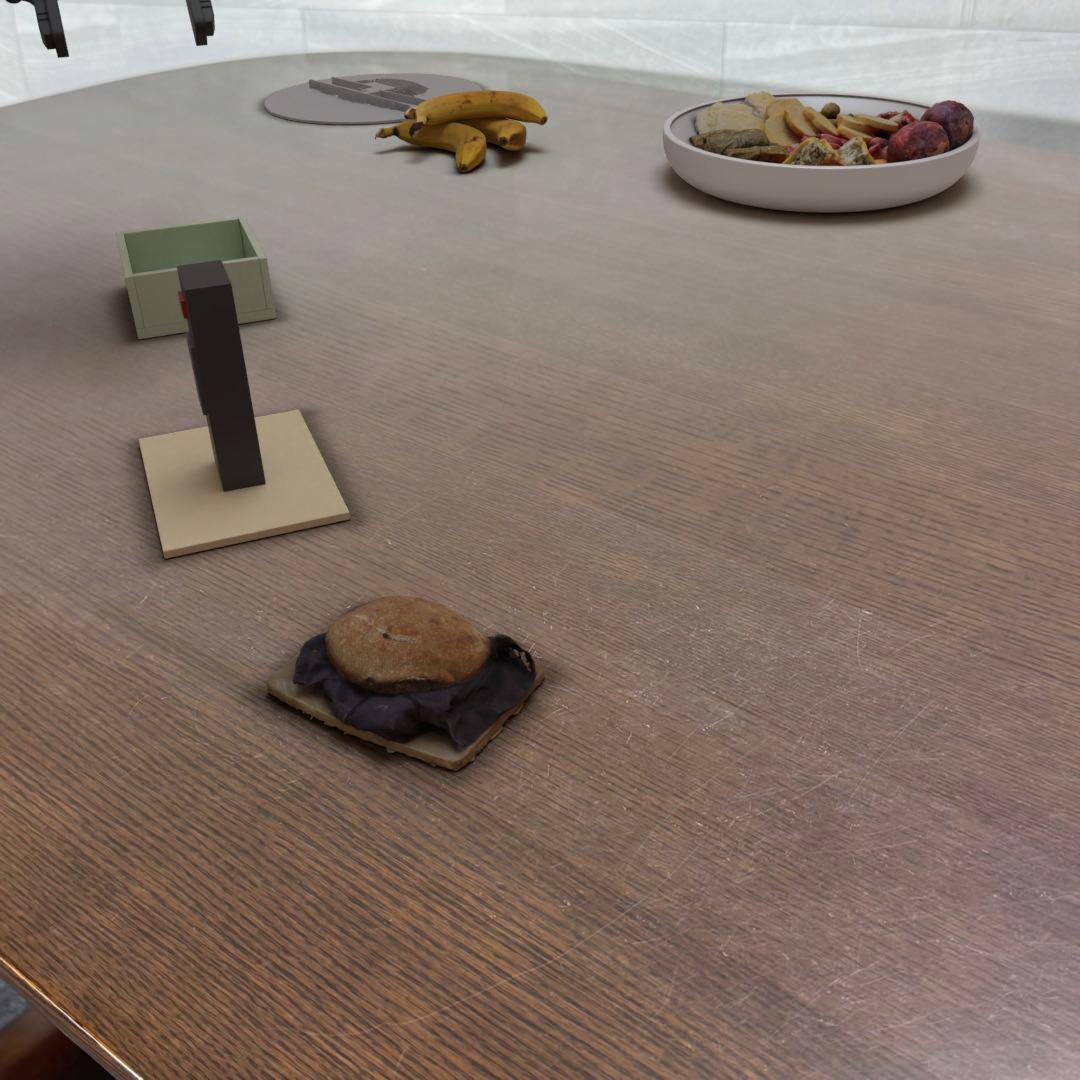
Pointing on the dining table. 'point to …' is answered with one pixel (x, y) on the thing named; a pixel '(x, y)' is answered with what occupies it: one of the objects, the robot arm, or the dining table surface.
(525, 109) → the banana
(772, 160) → the bowl
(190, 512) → the mat
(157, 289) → the green open box
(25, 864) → the dining table surface
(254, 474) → the bar
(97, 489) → the dining table surface
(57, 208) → the dining table surface
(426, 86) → the plate
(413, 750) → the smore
